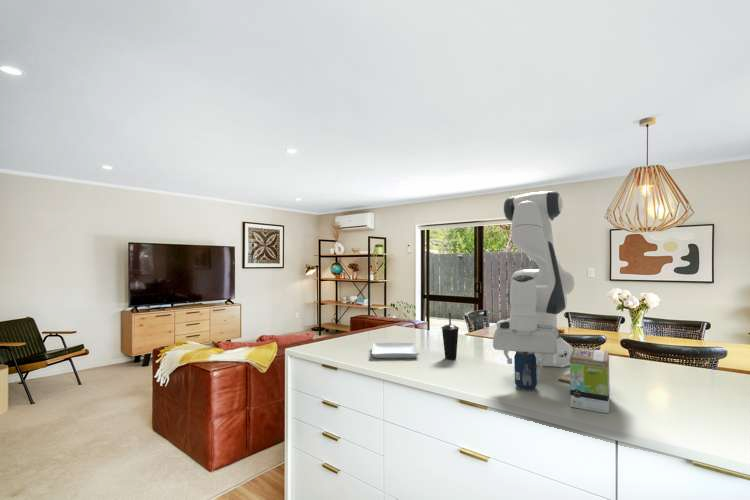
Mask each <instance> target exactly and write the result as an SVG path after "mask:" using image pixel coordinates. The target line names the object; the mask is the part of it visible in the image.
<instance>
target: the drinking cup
mask: <svg viewBox="0 0 750 500" xmlns="http://www.w3.org/2000/svg"><path fill="white" fill-rule="evenodd" d="M451 316H452V314H451V313H450V312H449V313H448V323H449V324H445V325H444V326H441V331H442V341H443V349H444V358H445V360H450V361H454V360H457V355H458V354H457V352H458V337H459V336H458V335H459V330H460V327H459V326H456V325H455V324H452V319H451Z"/></svg>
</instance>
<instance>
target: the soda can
mask: <svg viewBox="0 0 750 500" xmlns="http://www.w3.org/2000/svg"><path fill="white" fill-rule="evenodd" d="M513 361H514V363H513V364H514V365H513V366H514V367H513V368H514V385H515V386H516V387H517V388H516V389H519V390H522V391H533V390H535V389H536V387H537V386H538V379H537V376H538V375H537V372H538V371H537V370H538V369H537V365H536V357H535V355H534V353H530V352H518V351H515V354H514V357H513Z"/></svg>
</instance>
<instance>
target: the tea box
mask: <svg viewBox="0 0 750 500" xmlns="http://www.w3.org/2000/svg"><path fill="white" fill-rule="evenodd" d="M609 354H610V353H609V351H608V350H602V349H601V350H600V349H592V348H591V349H590V348H581V347H573V352H572V354H571V356H570V365H569V373H570V383H569V389H570V391H569V395H570V396H569V399H570V401H569V403H570V407H572V408H576V409H580V410H586V411H591V412H598V413H602V414H609V413H610V412H609V411H610V388H611V387H610V384H611V383H610V355H609Z"/></svg>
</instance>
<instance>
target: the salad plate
mask: <svg viewBox="0 0 750 500" xmlns="http://www.w3.org/2000/svg"><path fill="white" fill-rule="evenodd" d="M371 349H372V350H371V355H372V356H373V357H374V358H376V359H413V358H417V357H418V356H419V354H420V351H419V349H418V346H417V344H416V343H415V342H372V348H371Z"/></svg>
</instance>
